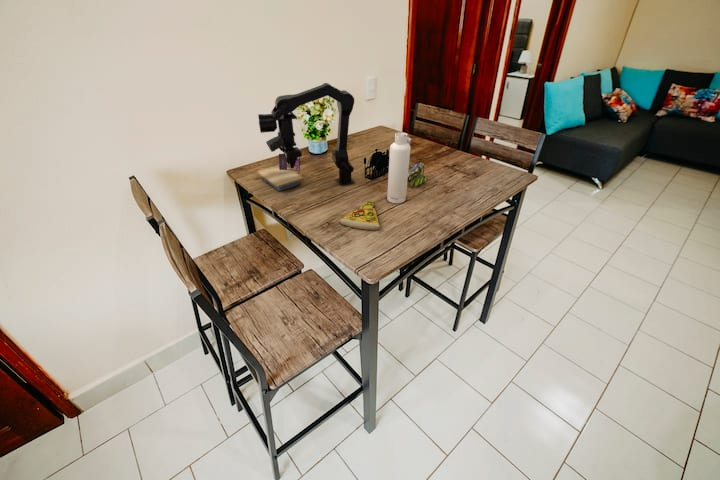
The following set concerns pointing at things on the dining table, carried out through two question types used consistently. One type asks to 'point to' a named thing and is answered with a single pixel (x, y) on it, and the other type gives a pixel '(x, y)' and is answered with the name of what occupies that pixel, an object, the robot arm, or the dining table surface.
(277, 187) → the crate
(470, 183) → the dining table surface
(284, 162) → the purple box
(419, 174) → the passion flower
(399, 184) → the bottle
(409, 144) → the drinking glass
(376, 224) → the pizza slice
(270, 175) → the board
